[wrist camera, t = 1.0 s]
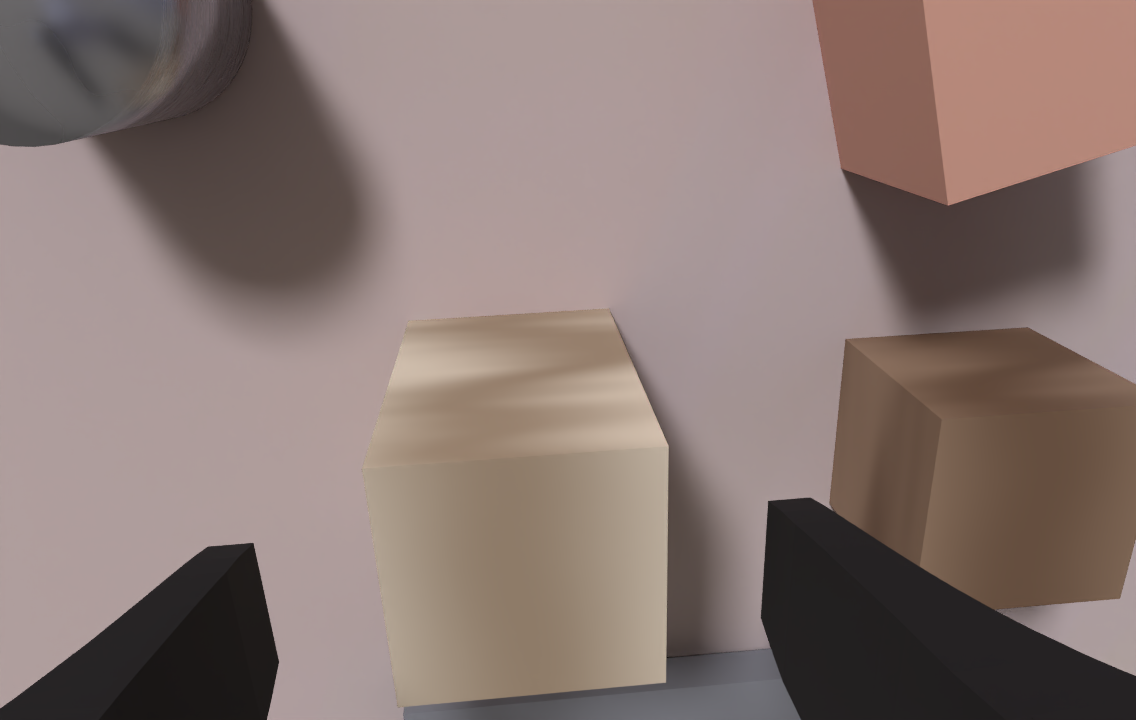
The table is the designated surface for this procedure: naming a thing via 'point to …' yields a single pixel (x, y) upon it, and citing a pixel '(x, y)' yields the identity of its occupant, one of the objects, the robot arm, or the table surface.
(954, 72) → the terracotta block
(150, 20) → the dark metal cylinder
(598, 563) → the pale birch block
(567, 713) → the charcoal mat
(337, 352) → the table surface
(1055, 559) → the walnut block
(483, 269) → the table surface
